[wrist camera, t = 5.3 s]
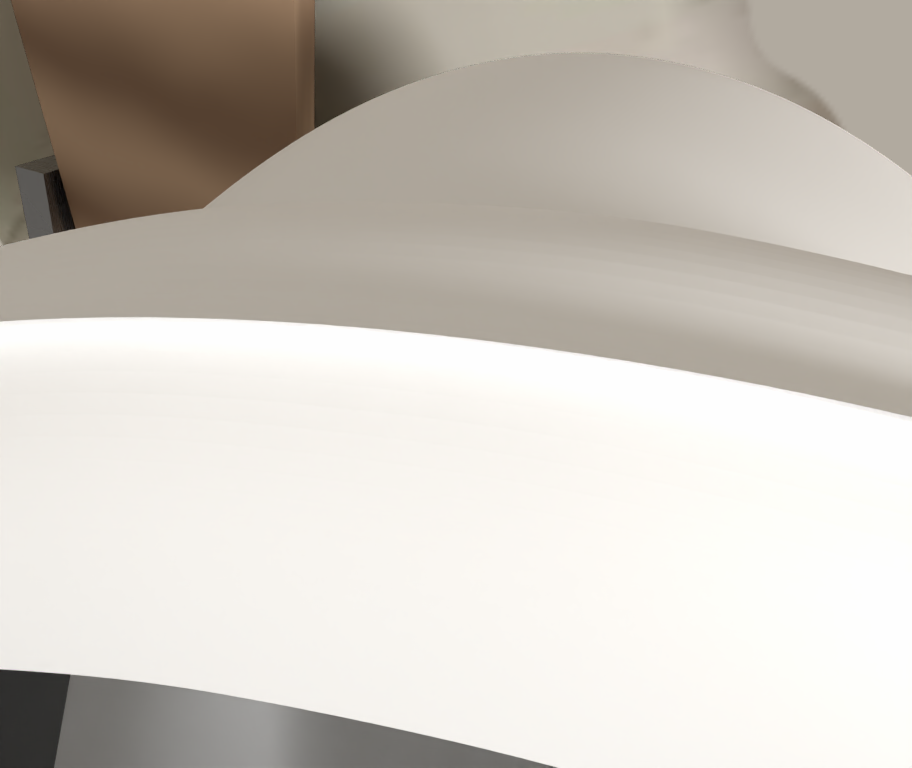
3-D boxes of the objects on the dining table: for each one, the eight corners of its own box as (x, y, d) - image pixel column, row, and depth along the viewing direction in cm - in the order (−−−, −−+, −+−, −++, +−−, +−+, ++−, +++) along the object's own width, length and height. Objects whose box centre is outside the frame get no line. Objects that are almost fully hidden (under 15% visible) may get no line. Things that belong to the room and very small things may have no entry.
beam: (-22, -269, 18) (-160, -290, 15) (315, -193, 17) (242, -201, 14) (150, 418, 36) (105, 469, 33) (312, 467, 36) (281, 524, 33)
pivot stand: (103, 100, 29) (-5, 123, 24) (395, 178, 28) (346, 218, 23) (117, 225, 32) (25, 268, 27) (378, 299, 31) (332, 357, 26)
